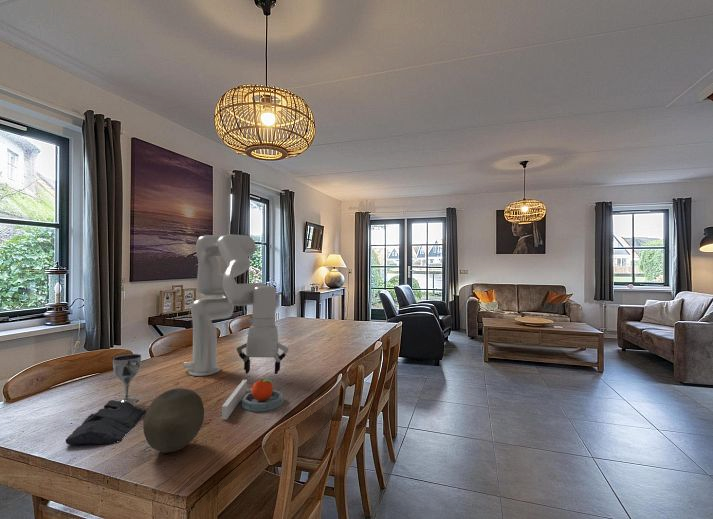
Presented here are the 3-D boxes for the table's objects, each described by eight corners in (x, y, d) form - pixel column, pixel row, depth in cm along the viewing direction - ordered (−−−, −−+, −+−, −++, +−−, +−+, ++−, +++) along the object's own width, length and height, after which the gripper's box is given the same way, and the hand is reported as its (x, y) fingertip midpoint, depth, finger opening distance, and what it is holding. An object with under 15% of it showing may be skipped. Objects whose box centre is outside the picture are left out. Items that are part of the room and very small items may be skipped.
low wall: (221, 419, 105) (221, 406, 105) (242, 390, 129) (243, 379, 129) (226, 419, 105) (227, 406, 105) (246, 390, 129) (247, 379, 129)
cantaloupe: (127, 459, 84) (128, 396, 84) (176, 432, 97) (177, 378, 97) (171, 472, 78) (172, 405, 79) (217, 442, 92) (218, 385, 92)
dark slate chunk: (51, 452, 87) (51, 433, 87) (94, 415, 108) (94, 400, 108) (121, 445, 91) (121, 427, 91) (149, 410, 112) (149, 395, 112)
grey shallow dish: (236, 412, 110) (236, 404, 110) (247, 395, 124) (247, 389, 124) (280, 411, 111) (280, 404, 111) (286, 395, 125) (286, 388, 125)
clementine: (275, 395, 122) (275, 375, 122) (276, 403, 116) (276, 381, 116) (251, 397, 120) (251, 377, 120) (251, 405, 113) (251, 383, 114)
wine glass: (145, 398, 120) (146, 355, 120) (123, 407, 113) (124, 361, 113) (129, 395, 123) (129, 353, 123) (106, 404, 115) (107, 358, 115)
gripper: (234, 323, 114) (232, 376, 114) (288, 325, 115) (286, 376, 115) (240, 319, 121) (239, 368, 121) (290, 320, 122) (289, 369, 122)
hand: (262, 372), depth 118 cm, fingers open, 9 cm apart
